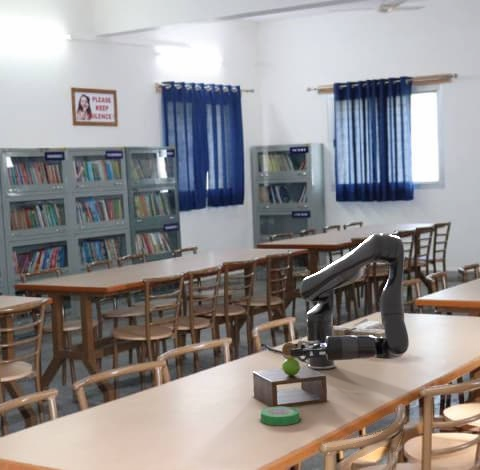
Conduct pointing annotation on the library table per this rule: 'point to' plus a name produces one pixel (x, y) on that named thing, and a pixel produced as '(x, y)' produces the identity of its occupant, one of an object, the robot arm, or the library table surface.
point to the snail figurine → (290, 359)
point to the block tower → (357, 332)
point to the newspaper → (369, 324)
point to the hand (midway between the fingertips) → (289, 350)
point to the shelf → (307, 394)
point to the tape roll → (280, 415)
